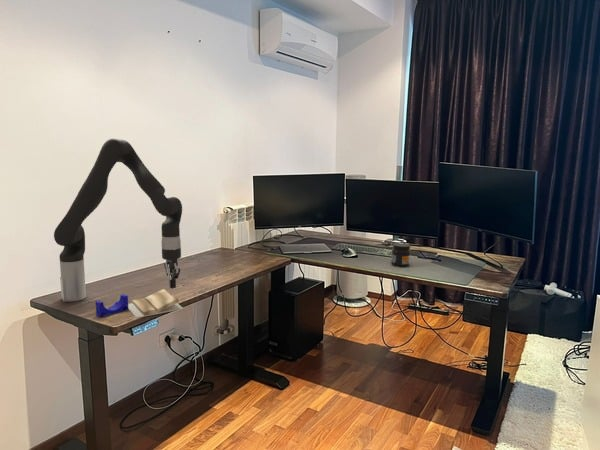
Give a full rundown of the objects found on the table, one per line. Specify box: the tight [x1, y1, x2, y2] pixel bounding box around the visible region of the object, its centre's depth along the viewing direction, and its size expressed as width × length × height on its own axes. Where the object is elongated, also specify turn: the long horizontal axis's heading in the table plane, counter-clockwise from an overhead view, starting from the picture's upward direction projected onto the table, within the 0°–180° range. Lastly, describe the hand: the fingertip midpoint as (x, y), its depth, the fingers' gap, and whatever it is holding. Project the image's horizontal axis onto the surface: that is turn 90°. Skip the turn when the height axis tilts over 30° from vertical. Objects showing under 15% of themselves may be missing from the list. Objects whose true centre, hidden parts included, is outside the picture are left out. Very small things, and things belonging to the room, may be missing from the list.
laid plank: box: [131, 297, 157, 315], centre depth 191 cm, size 5×16×2 cm, turn 35°
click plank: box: [144, 287, 180, 312], centre depth 195 cm, size 9×16×2 cm, turn 34°
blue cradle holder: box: [95, 293, 129, 318], centre depth 187 cm, size 12×4×6 cm, turn 141°
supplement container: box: [391, 242, 412, 268], centre depth 267 cm, size 10×10×12 cm
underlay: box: [128, 302, 184, 319], centre depth 193 cm, size 19×17×1 cm
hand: (172, 287), depth 192 cm, fingers closed
